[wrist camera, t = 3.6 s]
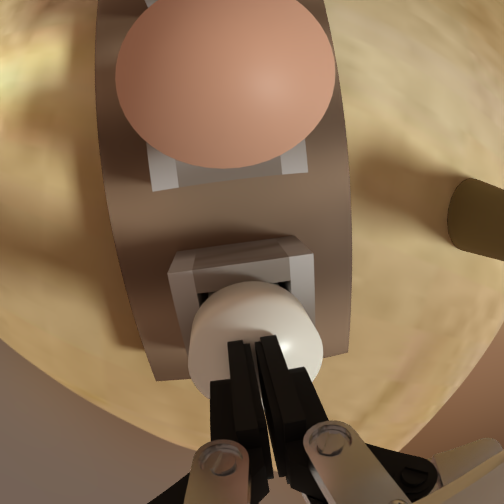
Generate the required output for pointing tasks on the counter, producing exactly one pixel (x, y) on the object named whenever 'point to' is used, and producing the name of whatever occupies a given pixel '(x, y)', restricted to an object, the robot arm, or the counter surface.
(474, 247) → the cork
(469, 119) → the counter surface
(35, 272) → the counter surface
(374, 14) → the counter surface
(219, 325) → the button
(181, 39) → the button middle
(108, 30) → the button board
